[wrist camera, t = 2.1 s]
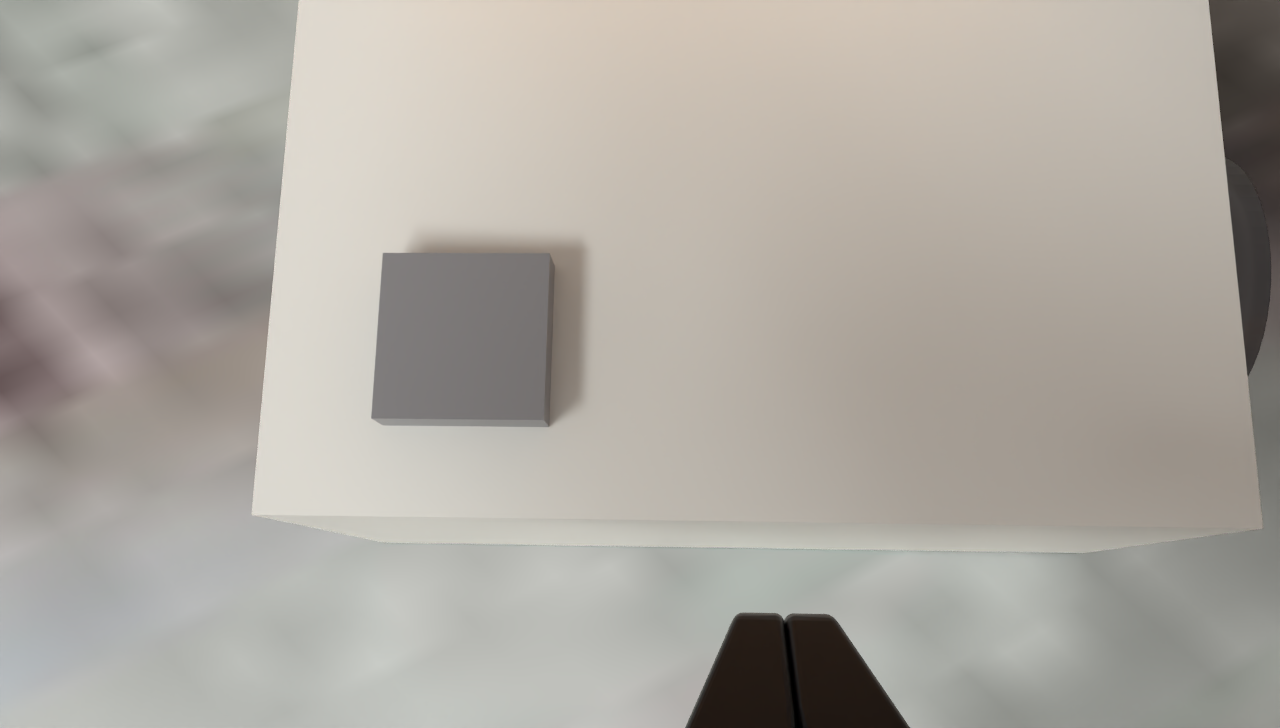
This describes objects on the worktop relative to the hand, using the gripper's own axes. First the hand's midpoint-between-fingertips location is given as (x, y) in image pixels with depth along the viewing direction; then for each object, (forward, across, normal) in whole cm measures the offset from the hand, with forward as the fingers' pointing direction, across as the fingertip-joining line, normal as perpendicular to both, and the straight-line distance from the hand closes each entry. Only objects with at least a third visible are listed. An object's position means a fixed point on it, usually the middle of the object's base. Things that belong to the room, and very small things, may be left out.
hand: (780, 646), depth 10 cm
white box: (+13, 0, +5) cm, 14 cm away
